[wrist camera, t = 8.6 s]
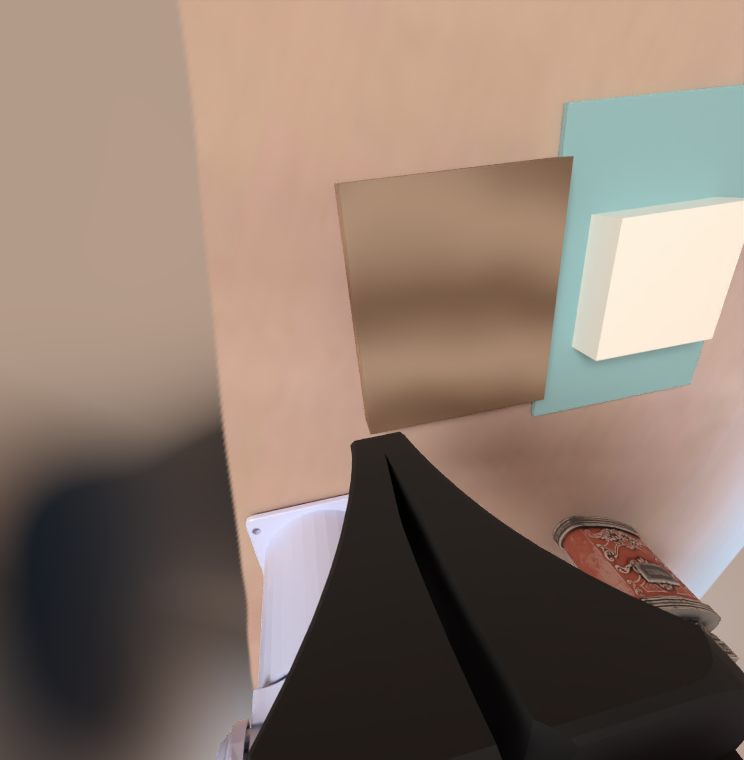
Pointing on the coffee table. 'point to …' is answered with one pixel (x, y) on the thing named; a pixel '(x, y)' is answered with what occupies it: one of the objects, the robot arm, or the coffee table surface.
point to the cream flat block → (657, 275)
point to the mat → (629, 191)
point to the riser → (453, 287)
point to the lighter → (632, 569)
